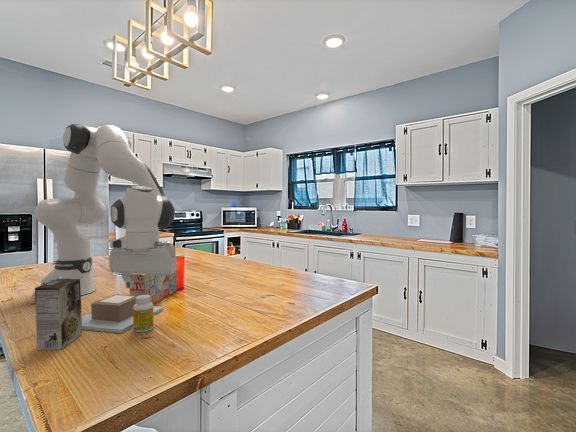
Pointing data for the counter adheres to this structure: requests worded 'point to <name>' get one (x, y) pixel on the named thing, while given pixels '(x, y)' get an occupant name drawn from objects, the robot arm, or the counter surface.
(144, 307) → the supplement bottle
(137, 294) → the stack of blocks
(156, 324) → the counter surface
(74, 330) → the coffee box
